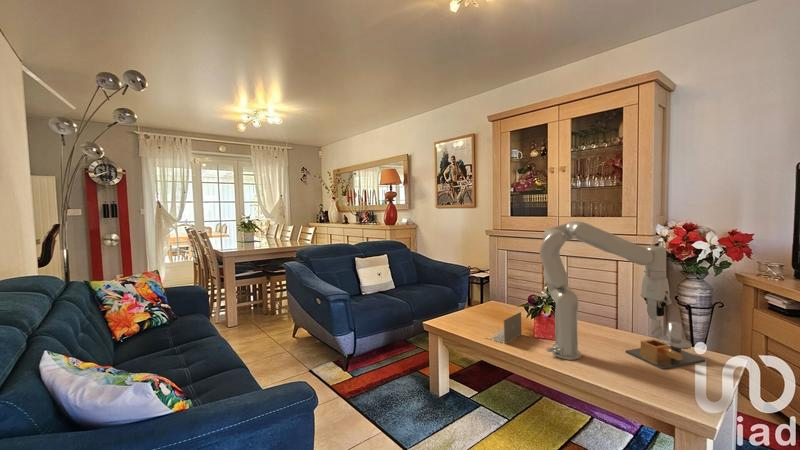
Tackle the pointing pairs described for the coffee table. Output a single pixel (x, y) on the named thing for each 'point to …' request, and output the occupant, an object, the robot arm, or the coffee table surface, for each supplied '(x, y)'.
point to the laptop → (509, 329)
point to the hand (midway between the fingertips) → (655, 313)
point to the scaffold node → (666, 350)
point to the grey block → (653, 309)
